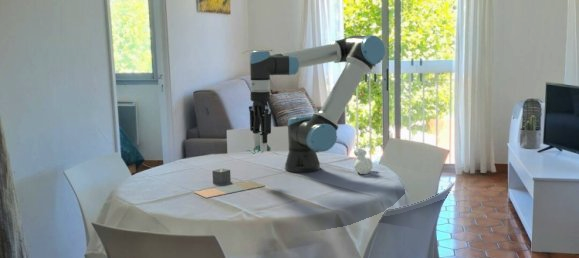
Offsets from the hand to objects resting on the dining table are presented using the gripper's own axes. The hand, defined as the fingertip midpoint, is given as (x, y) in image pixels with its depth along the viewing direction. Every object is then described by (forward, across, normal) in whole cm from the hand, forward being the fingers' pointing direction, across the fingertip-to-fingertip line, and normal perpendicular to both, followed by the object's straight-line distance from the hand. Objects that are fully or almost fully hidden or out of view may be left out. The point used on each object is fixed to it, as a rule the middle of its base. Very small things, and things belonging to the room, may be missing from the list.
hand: (260, 150), depth 223 cm
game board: (+14, 0, -14) cm, 20 cm away
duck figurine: (+12, +13, +43) cm, 46 cm away
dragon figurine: (+1, 0, 0) cm, 1 cm away
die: (+14, -12, -11) cm, 21 cm away
